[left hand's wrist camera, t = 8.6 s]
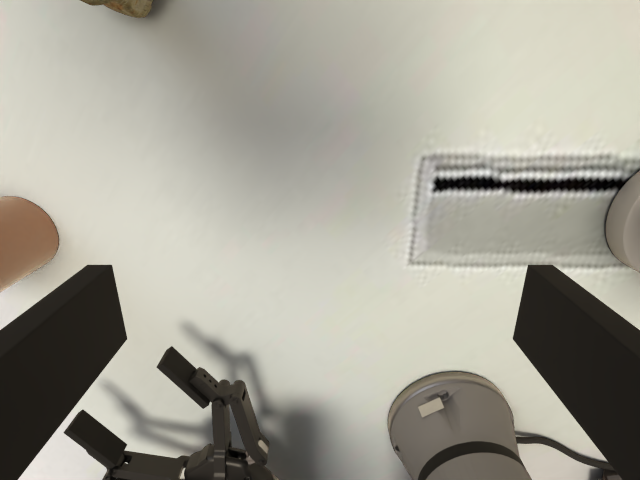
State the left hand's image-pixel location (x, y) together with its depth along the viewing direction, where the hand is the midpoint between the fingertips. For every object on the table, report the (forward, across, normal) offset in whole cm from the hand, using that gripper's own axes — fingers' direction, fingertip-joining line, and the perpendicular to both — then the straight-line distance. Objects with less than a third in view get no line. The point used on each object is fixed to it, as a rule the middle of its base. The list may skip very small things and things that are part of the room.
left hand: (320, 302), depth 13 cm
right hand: (+21, -21, -22) cm, 37 cm away
